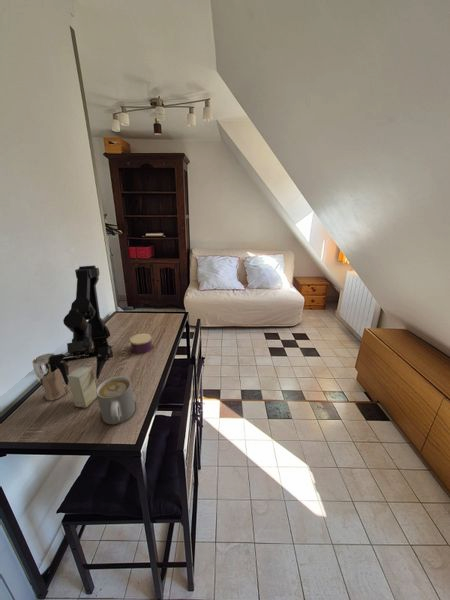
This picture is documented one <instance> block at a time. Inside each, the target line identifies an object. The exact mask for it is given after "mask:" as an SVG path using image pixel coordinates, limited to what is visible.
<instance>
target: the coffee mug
mask: <svg viewBox="0 0 450 600" xmlns="http://www.w3.org/2000/svg"><path fill="white" fill-rule="evenodd" d="M96 389H97V390H96V393H97V397H96V399H97V401H98V406H99V411H100V414H101V418H102V421H103V422H104V423H106V424H109V425H117V424H120V423H123V422H125V421H127V420H128V419H130V418H131V417H132V416H133V415H134V413H135V410H136V403H135V397H134V393H133V387H132V381H131V380H130V378H128V377H126V376H113V377H111V378H108V379H106V380H103V382H101V383H100V384H98V386H97V387H96Z"/></svg>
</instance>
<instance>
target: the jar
mask: <svg viewBox="0 0 450 600" xmlns="http://www.w3.org/2000/svg"><path fill="white" fill-rule="evenodd" d="M129 342H130V345H131V350H132V353H134V354H146V353H148V352H150V351H151V350H152V349H153V343H152V335H151V334H149V333H145V332H143V333H138V334H135V335H132V336H131V337H130V339H129Z"/></svg>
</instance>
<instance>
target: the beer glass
mask: <svg viewBox="0 0 450 600" xmlns="http://www.w3.org/2000/svg"><path fill="white" fill-rule="evenodd" d="M51 355H56V354H55V353H53V352H50V353H44V354H41V355H39V356H36V357H35V358H34V359H33V360H31V361H32V362H31V363H32V367H33V371H34V375H35V377H36V379H37V380H38V382H39V383H40V385H41V387H42V388H43V392H44V399H45V400H47V401H55V400H57V399H60V398H62V397H63V396H64V395H65V394H66V388H65V387H64V385H63V382H62V373H61V371H60V370H59V369H58V368H56V367H55V366H53V365H50V364H48V359H49V357H50V356H51Z"/></svg>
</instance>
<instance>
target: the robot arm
mask: <svg viewBox="0 0 450 600" xmlns="http://www.w3.org/2000/svg"><path fill="white" fill-rule="evenodd" d="M74 272H75V273H74V274H75V278H76V289H75V290H76V291H75V292H76V293H75V299H74V301H72V303H71V305H70V309H69V311H68V313H67V314H66V315H65V316H64V318H63V320H62V322H63V325H64V326H65V327H66V328H67V329H68V330H69V331H70V332H71V333H72V338H71V342H67V343H66V348H67V354H70V355H65V354H64V353H58V354H55V355H51V356H50V357H49V359H48V364H50V365H53V366H55V367H56V368H58V369H59V370H60V371H61V377H62V378H63V381H64V383H65V384H64V385H66V386H68V385H69V381H68V377H67V376H68V375H69V374H70V371H69V369H70V368H69V365H67V364H68V363H69V362H75V361H80V360H81V361H82V360H86V359H93V358H96V370H95V378H96V380H99V379H100V375H101V373H102V370H103V368H104V366H105V364H106V362H107V361H110V359H112V358H113V357H114V352H113V350H112V346H111V345H109V343H108V342H109V341H108V339H109V337H111V332H110V330H109V328H108V326H107V325H106V322H105V320H104V319H103V318H102V317H101V313H100V307H99V300H98V292H97V284H98V282H99V280H100V277H99V276H100V269H99V267H96V265H95V264H94V265H81V266H79V267H78V268H76V269H74Z"/></svg>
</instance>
